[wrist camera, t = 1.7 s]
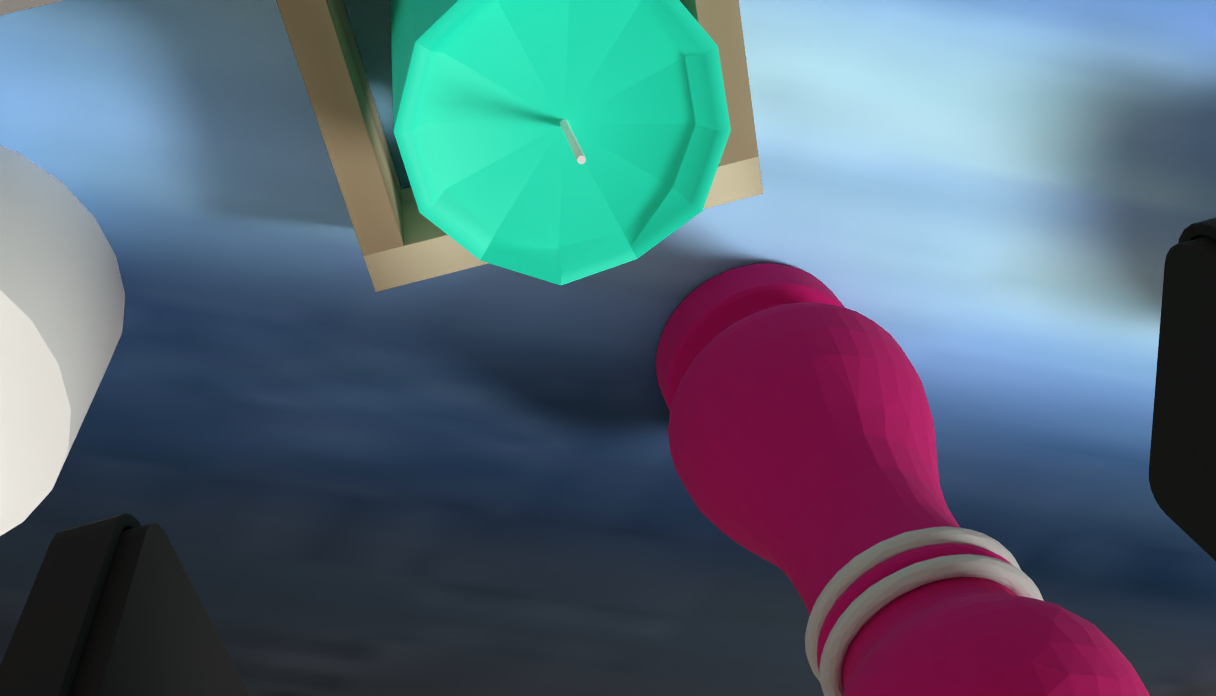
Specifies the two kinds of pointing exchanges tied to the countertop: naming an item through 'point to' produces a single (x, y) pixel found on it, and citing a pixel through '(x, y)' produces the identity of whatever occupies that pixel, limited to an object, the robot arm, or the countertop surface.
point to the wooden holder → (22, 5)
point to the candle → (557, 126)
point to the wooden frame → (389, 214)
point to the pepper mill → (856, 500)
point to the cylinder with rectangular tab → (48, 328)
